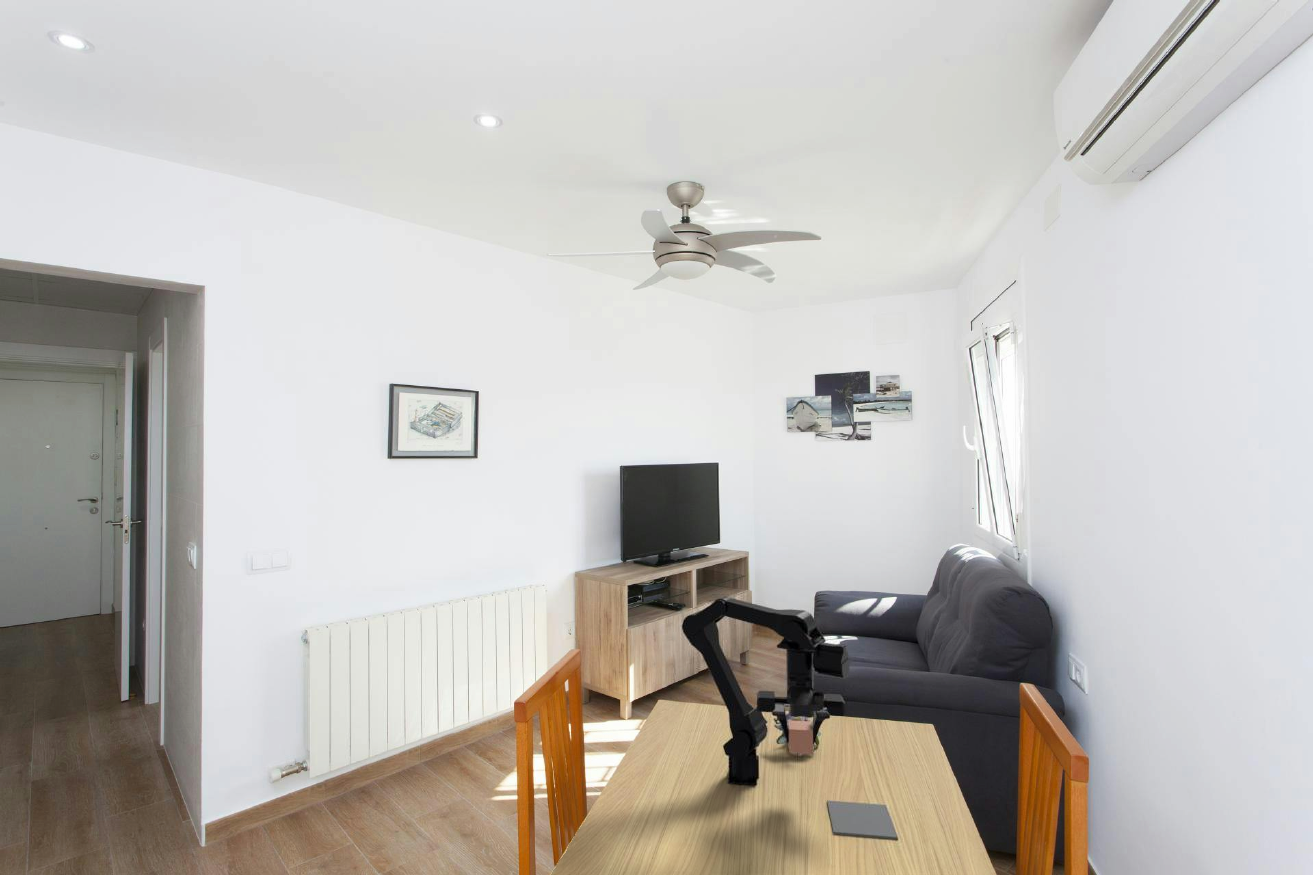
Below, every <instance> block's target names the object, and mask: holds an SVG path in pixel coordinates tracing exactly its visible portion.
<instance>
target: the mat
mask: <svg viewBox="0 0 1313 875" xmlns="http://www.w3.org/2000/svg"><path fill="white" fill-rule="evenodd" d="M826 804H827V809H828V814H829V817H830V824H831V829H832V832H833V835H842V836H854V837H865V838H866V837H867V838H875V839H876V838H877V839H887V840H889V839H890V840H891V839H892V840H899V836H898V834H897V831H896V828H895V825H894V823H893V821H892V818H891V815H890V813H889V810H888V807H887V805H886V804H879V803H877V804H876V803H867V802H865V803H864V802H852V801H842V800H839V801H838V800H829V799H828V800H826Z"/></svg>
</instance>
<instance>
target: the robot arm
mask: <svg viewBox="0 0 1313 875" xmlns="http://www.w3.org/2000/svg"><path fill="white" fill-rule="evenodd" d="M725 617H727V618H731V619H734V620H738V621H741V622H745V623H749V624H753V625H756V626H759V627H763V628H767V629H769V630H771V631H773V632H774V633H776V634H777V635H778V636H779V637H782V638H783V639H782V640H781V642H779V643H778V644H777V645H776V648H777V649H783V650H786V651H785V652H786V655H785V657H786V658H785V659H786V661H785V662H786V696H776V694H775V691H774V690H758V691H757V692H756V707H753V706H752V705H751V704H749V703H748V701H747V699H746V697H745V694H744V693H743V691H742V688H741V686H740V684H739V683H738V680H737V678H736V675H735V674H734V672H733V670H732V668H731V666H730V663H729V662H728V659H727V657H726V655H725V652H724V651H723V649H722V647H721V645H720V636H719V635H720V633H719V628H718V625H717V623H719V621H721V620H722V619H725ZM681 629H682V630H681V631H682V633H683V635H684V637H685V638H686V639H687V640H688V642H689V644H690V645H691V646H693V647H694V648H695V649H696V650H697V651H698V652H699V653H700V655H701V656H702V658H703V660H704V662H705V665H706V666H707V668H708V670H709V673H710V675H711V677H712V679H713V681H714V684H715V685H716V688H717V691H718V692H719V694H720V696H721V698H722V701H723V703H724V705H725V707H726V709H727V712H728V720H729V721H728V722H729V731H730V732H731V736H732V737H731V738H730V739H729V740H728V741H727V742H725V743H724V744H723V746H722V747H723V751H724V755H725V756H728V772H727V783H729V784H734V785H739V784H740V785H746V786H747V785H749V786H757V785H758V780H759V779H760V756H759V755H757V748H758V747H759V746H760V744H761V743H762V742H763V741H764V740H765V739H766V737H767V735H768V726H767V724H768V720H767V719H766V718H765V716H764V715H763V713H771V715H772V716H773V717H776V718H777V717H778V719H779V721H780V723H781V725H782V728H783V731H784V734H785V737H786V741H787V743H789V733H788V726H787V719H786V715H787V713H786V707H787V708H788V707H789V709H790V713H791V715H792V716H794V717H798V716H801V717H807V718H808V719H810V718H812V722H813V724H812V729H813V745H814V744H815V740H816V737H817V734H818V731H819V730H820V728H821V726H822V724H823V722H824V721H825V720H829V719H830V718H831V717H845V716H846V715H847V714H846V713H847V712H846V709H847V708H846V703H845V699H844V697H842V696H843V695H841V694H839V693H838V694H837V693H824V694H823V691H822V692H821V691H815V690H814V672H816V673H817V674H818V675H820V676H826V677H827V676H828V677H832V678H839V679H847V678H848V675H849V673H850V672H849V671H850V662H851V661H850V658H849V653H848V651H847V645H846V644H843V643H838V644H837V643H829V642H826V639H825V637H824V636H823V633H821V631H820V629H819V628H818V627H817V624H816V619H815V617H814V616H813V615H812V613H810V612H809V611H807V610H802V609H792V608H791V609H775V608H772V607H768V606H765V605H758V604H756V603H752V602H747V601H744V600H740V599H736V598H732V597H731V596H729V595H725V596H724V595H723V596H722V597H719V598H717V599H715V600H714V601H713V602H712V603H711V604H710V605H708V606H706V607H705V608H704V609H702V610H699V611H696V612H694V613H691V614H689V615H687V616H686V617H685V618H684V619H683V621H682V625H681ZM779 721H778V722H779ZM783 731H782V732H783ZM819 732H820V731H819ZM787 743H786V744H787Z"/></svg>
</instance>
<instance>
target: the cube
mask: <svg viewBox="0 0 1313 875" xmlns="http://www.w3.org/2000/svg"><path fill="white" fill-rule="evenodd" d="M811 722H812V721H811V720H809V721H793V720H788V733H789V743H788V746H789V750H788V752H789V753H790V754H797V753H800V754H802V755H804V754H805V755H814V750H813V745H814V744H813V729H812V724H811Z"/></svg>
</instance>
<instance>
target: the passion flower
mask: <svg viewBox="0 0 1313 875" xmlns="http://www.w3.org/2000/svg"><path fill="white" fill-rule="evenodd" d="M786 719H787V726H788V720H793V721H810V720H809V718H807V717H801V716H798V717H794V716H792V715H791V713H790V708H789V710H788V712H787V713H786ZM773 721H774V723H775V724H774V728H775V729H777V730H779V731H781V732H782V733H781V735H780V736H778V737H777V739H776V744H777V745H783V744H785V743H786V749H787V750H788V751H789V746H788V743H787V741H786V737H785V734H784V731H783V728H782V725H781V723H780V721H779V719H778V717H777V716H776V718H775V717H773ZM811 724H813V721H811ZM821 735H822V732H820V731H818V734H817V737H816V740H815V743H814V744H815V745H816V747H817V748H818V747H819V745H820V740H819V738H820V736H821ZM814 744H813V751H814V749H815V745H814ZM796 754H797V756H798V757H802V756H803V754H800V753H796Z"/></svg>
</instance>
